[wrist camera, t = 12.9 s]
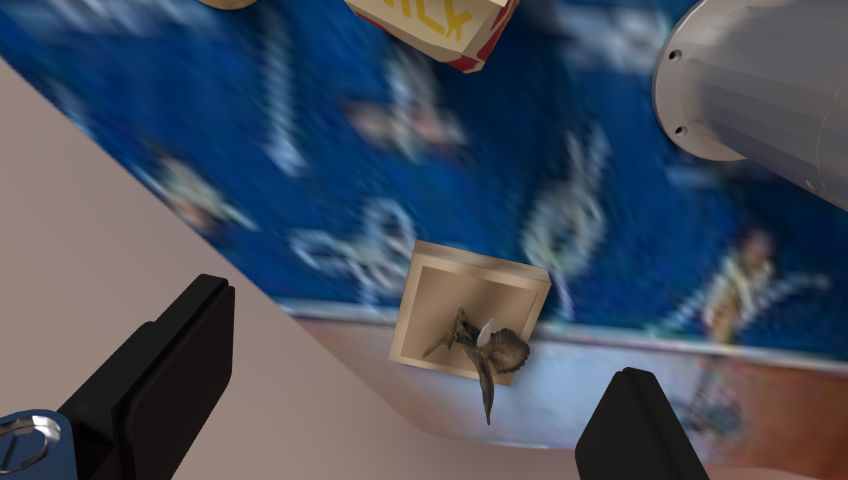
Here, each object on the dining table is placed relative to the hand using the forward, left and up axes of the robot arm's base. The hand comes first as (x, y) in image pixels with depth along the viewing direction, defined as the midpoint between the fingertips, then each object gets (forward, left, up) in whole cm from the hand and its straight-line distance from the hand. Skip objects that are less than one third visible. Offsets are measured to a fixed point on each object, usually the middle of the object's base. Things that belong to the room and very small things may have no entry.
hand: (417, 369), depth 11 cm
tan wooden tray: (-6, +17, -28) cm, 34 cm away
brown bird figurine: (-8, +18, -26) cm, 32 cm away
